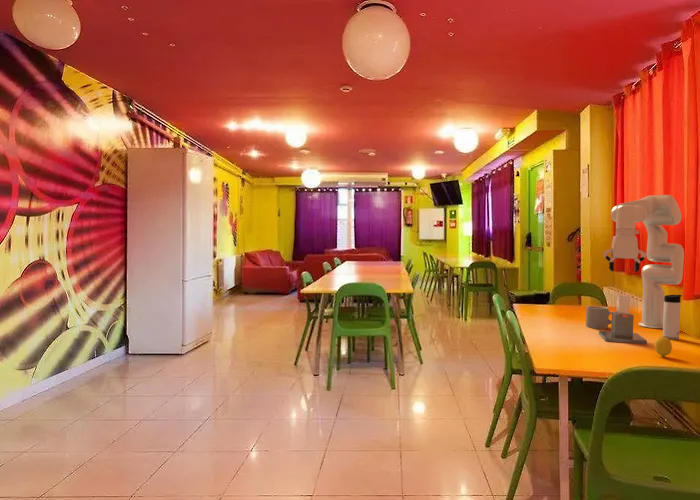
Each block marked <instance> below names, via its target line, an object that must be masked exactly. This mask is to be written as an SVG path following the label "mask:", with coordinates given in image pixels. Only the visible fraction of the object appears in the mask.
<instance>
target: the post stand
mask: <svg viewBox="0 0 700 500" xmlns="http://www.w3.org/2000/svg"><path fill="white" fill-rule="evenodd" d="M634 316H635V315H634V314H632V313H631V312H629V315H627V314H617V311H612V314H611V320H612V324H610V325H611V327H610V328H611V329H610V330H609V331H608V330H598V335H599V336H600V337H601V338H602V339H603V340H604V341H605V342H608V343H610V342H612V343H624V344H635V345H636V344H638V345H647V344H648V340H647V339H645V338H644V337H643V336H642V335H640V334H639V333H638V332H637V333H636V332H634Z"/></svg>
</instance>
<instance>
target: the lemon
mask: <svg viewBox="0 0 700 500" xmlns="http://www.w3.org/2000/svg"><path fill="white" fill-rule="evenodd" d="M654 349H655V352H656V353H657V354H658V355H660V356H661V357H663V358H664V357H666V356H668V355H670V354H671V352H672V349H673V345H672V342H671V340H670V339H668V338H666V337H664V336H663V335H662V336H661V337H659V338H657V339H656V340H655V343H654Z"/></svg>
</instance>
